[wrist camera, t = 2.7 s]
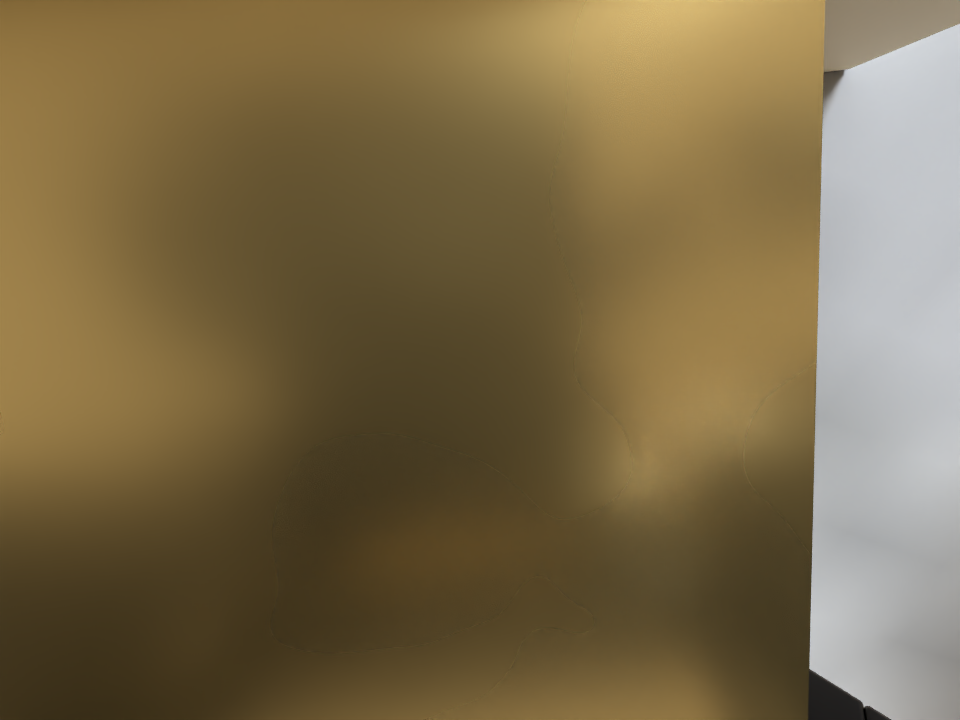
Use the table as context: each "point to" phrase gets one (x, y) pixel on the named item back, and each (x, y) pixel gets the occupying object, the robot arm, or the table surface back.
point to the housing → (880, 27)
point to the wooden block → (408, 358)
